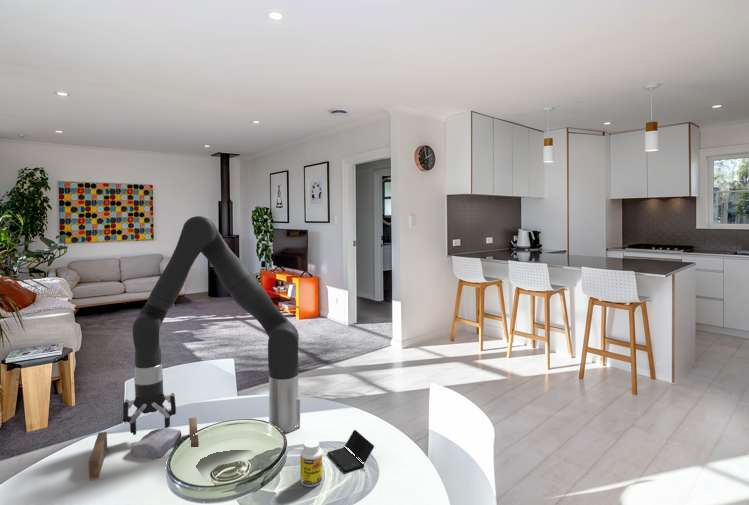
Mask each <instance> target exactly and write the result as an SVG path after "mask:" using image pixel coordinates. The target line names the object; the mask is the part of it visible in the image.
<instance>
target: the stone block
mask: <svg viewBox="0 0 749 505" xmlns="http://www.w3.org/2000/svg"><path fill="white" fill-rule="evenodd" d="M181 439H182V430H180V429H176V428H172V427H168V428H165V427H163V428H156V429H154V430H151V431H149V432H148V433H147V434H145V435H143V437H142V438H141V439H140V440H139V441H138V442H136V443H135V444H133V445H132V448H131V453H132V455H133V457H136V458H139V459H147V458H148V459H160V458H162V457H163V456H165V455H166V454H167V453H168V452H169V451H170V450H171V449H172V448H174V446H175V445H177V444H178V443H179V442H180V440H181Z"/></svg>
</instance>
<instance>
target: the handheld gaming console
mask: <svg viewBox="0 0 749 505" xmlns="http://www.w3.org/2000/svg"><path fill="white" fill-rule="evenodd" d="M344 446H345V447H347V448H349V449H350V450H351V451H352V452H353V453H354V454H355V456H354V455H353V454H351V453H350V452H349V451H348V450H347V449H346V448H345V447H344ZM344 446H343V447H340V448H337V449H333V450H331V451H327V456H328V457H329V458H330V459H331V461H333V462H334V463H335V465H336V466H337V467H338V468H339V469H341V471H343V472H342V473H344V474H347V473H351V472H353V471H357V470H360V469H363V468H365V464H366V462H367V461H368V459H369V457H370V455H371V454H372V452H373V450H374V449H375V445H374V444H373V443H372V442H370V440H368V439H367V438H365V436H363V435H362V434H361V433H360V432H359V431H358V430H356V429H354V430H353V431H352V433H351V435H350V436H349V438H348V440H347V442H346V443H345V445H344ZM356 457H357V458H358V457H359V458H360V459H361V460H362V461H363V462H364V464H362V463H361V462H362V461H361V460H360V459H359V458H358V459H359V460H360V461H361V462H360V461H359V460H358V459H357V458H356Z"/></svg>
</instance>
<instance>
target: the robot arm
mask: <svg viewBox="0 0 749 505" xmlns="http://www.w3.org/2000/svg"><path fill="white" fill-rule="evenodd" d="M200 254H203V256H204V258H206V260H207V261H208V262H209V263H210V265H211V266H212V268H213V269H214V271H215V273H216V276H217V277H218V279H219V280H220V283H221V284H222V285H223V287H224V288H225V290H226V291H227V293H228V294H229V295H230V297H231V298H232V299H233V301H234V302H235V303H236V304H237V305H238V306H240V308H241V309H243V310H244V311H245V312H247V314H249V315H251V316H252V317H253V318H254V319H255V320H256V321H257V322H258V323H259V324H260V326H261V327H262V328H263V330H264V332H265V333H266V335H267V336H268V339H267V362H268V364H267V365H268V403H269V404H268V413H269V414H268V415H269V416H268V424H269V423H271V424H273V425H275V426H277V427H278V428H280V429H281V430H282V431H283V432H284V433H283V434H285V433H290V432H293V431H294V430H297V429H300V428H301V399H300V397H299V338H300V337H299V336H300V335H299V332H298V329H297V328H296V326H295V325H294V324H293V323H292V322H291V321H290V320H289V319H288V318H287V317H286V316H285V315H284V314H283V313H282V312H281V310H279V308H278V307H277V306H276V305H275V303H274V302H273V300H272V299H271V297H270V295H269V294H268V293H267V291H266V290H265V289H264V287H263V286H262V284H261V283H260V281H259V280H258V278H256V276H255V275H254V274H253V272H252V271H251V270H250V269H249V267H247V265H246V264H245V263H244V262H243V261H242V260H241V259H240V258H239V257H238V256H237V255H236V253H234V252H233V251H232V250H231V249H230V247H229V246H228V244H227V242H226V241H225V240H224V238H223V237H222V235H221V233H220V232H219V229H218V227H217V226H216V225H215V222H213V221H212V220H211V219H209V218H207V217H205V216H201V215H198V216H192V217H189V219H187V220H186V221H185V222H184V224H183V227H182V230H181V232H180V234H179V237H178V241H177V243H176V246H175V249H174V250H173V253H172V255H171V256H170V257H171V258H170V259H169V261H168V263H167V265H166V266H165V268H164V269H163V270H162V273H161V275H160V276H159V278H158V280H157V282H156V283H155V285H154V287H153V288H152V290H151V292H150V294H149V296H148V299H147V301H146V303H145V304H144V306H143V307H142V309H141V311H140V312H139V313H138V316H137V317H136V318H135V320H134V322H133V324H132V338H133V339H132V340H133V346H134V379H133V380H134V393H135V394H134V396H135V397H134V399H131V400H129V399H125V400H124V401H123V405H122V422H123V423H129V426H130V427H129V430H130V433H131V434H132V435H134V436H136V435H137V419H138V418H139V417H140V416H141V414H144V415H145V414H150V413H156V412H159V414H161V415H163V417H164V428H170V427H171V426H170V425H171V416H175V415H176V414H177V406H176V395H175V393H174V392H171V394H168V395H164V394H165V393H164V374H163V370H164V369H163V366H162V364H163V362H162V348H161V345H160V329H161V326H162V323H163V321H164V320H165V318H166V316H167V314H168V312H169V310H170V309H171V308H172V307H173V306H174V303H175V302H176V299H178V296H179V295H180V293H181V291H182V289H183V287H184V284H185V282H186V280H187V278H188V275H189V272H190V271H191V268H192V266H193V265H194V262H195V261H196V259H197V257H198V256H199V255H200ZM165 401H167V402H168V403H170V410H168V408H166V405H164V402H165ZM132 406H134V407H135V408H136V410H134V412H133V414H132V415H129V410H130V409H131V407H132ZM297 425H298V426H297ZM295 426H296V427H295Z"/></svg>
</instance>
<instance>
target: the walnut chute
mask: <svg viewBox="0 0 749 505" xmlns="http://www.w3.org/2000/svg"><path fill="white" fill-rule="evenodd" d="M197 421H198V420H197V417H190V418H189V419H188V422H189V423H188V424H189V425H188V426H189V428H188V429H189V441H190V440H191V447H199V446H200V445H199V443H200V442H199V434H198V435H195V433H197V432H198V424H197V423H198V422H197ZM198 433H199V432H198ZM193 434H194V436H193ZM107 450H108V432H107V431H103V432H98V434H97V436H96V439H95V442H94V446H93V448H92V451H91V453H90V456H89V459H88V475H89V476H88V477H89V478H88V479H89V481H92V480H98V479H99V478H100V475H101V472H102V469H103V465H104V460H105V457H106V454H107Z"/></svg>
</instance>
